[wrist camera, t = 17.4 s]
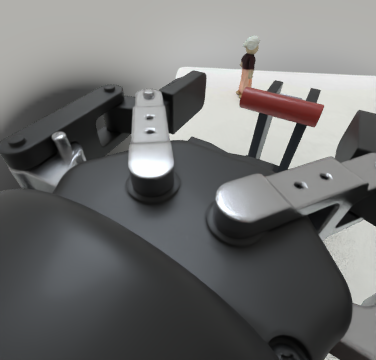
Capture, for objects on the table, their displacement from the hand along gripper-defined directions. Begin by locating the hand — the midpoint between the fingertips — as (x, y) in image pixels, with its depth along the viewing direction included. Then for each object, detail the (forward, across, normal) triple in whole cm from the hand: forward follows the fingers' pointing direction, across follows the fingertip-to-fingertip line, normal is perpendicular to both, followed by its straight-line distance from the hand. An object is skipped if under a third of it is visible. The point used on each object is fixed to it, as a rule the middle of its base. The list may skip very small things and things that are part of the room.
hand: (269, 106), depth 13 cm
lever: (+9, 0, +5) cm, 11 cm away
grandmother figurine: (+43, +13, +19) cm, 49 cm away
